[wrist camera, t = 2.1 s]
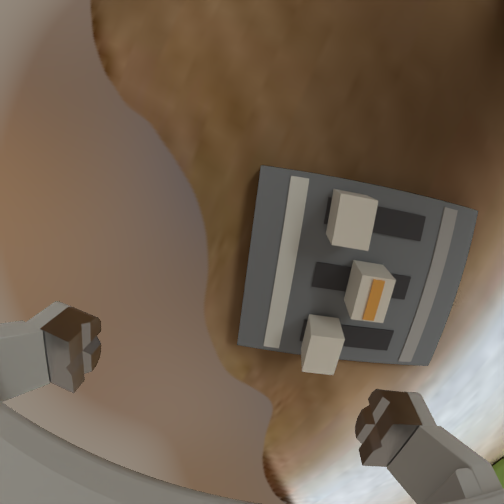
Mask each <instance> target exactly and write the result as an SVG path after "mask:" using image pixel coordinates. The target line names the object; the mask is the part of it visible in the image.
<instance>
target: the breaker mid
mask: <svg viewBox="0 0 504 504" xmlns="http://www.w3.org/2000/svg"><path fill="white" fill-rule="evenodd" d="M395 282H396V279H395V278H394V277H393V276H392V275H391V273H390V272H389V271H388V270H387V269H386V267H385V266H384V265H382V264H375V263H369V262H363V261H357V260H353V264H352V268H351V272H350V277H349V281H348V285H347V289H346V293H345V297H344V302H345V304H346V307H347V310H348V313H349V316H350V318H351V319H353V320H361V321H369V322H378V323H383V322H384V319H385V315H386V312H387V309H388V306H389V303H390V299H391V296H392V292H393V289H394V285H395Z"/></svg>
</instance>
